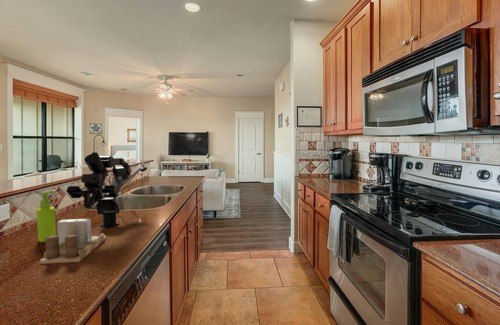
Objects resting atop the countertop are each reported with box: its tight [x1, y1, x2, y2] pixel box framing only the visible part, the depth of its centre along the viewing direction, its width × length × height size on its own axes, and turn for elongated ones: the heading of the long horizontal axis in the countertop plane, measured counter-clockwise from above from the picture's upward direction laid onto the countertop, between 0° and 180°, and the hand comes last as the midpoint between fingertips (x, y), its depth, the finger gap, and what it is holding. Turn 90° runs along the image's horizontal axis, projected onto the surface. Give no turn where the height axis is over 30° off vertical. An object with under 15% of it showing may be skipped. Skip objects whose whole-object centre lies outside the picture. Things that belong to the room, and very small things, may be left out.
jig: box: [39, 233, 107, 265], centre depth 98 cm, size 22×12×8 cm, turn 7°
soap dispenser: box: [36, 190, 57, 243], centre depth 108 cm, size 6×7×20 cm
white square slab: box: [56, 218, 92, 249], centre depth 97 cm, size 3×10×10 cm, turn 97°
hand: (86, 208), depth 105 cm, fingers closed
